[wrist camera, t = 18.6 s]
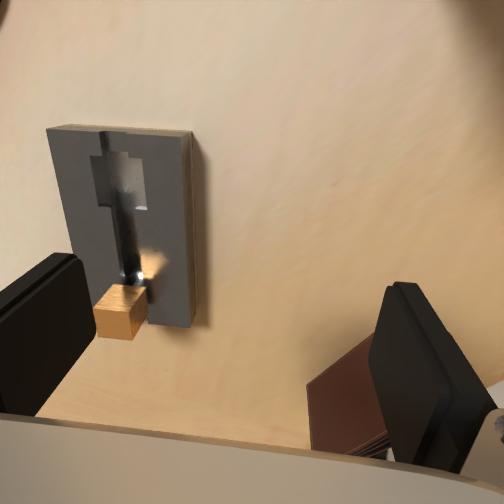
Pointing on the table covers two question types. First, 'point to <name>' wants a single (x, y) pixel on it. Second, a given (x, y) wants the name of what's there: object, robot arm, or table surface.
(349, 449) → the letter holder
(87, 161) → the keyhole track
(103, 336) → the peg
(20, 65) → the table surface
